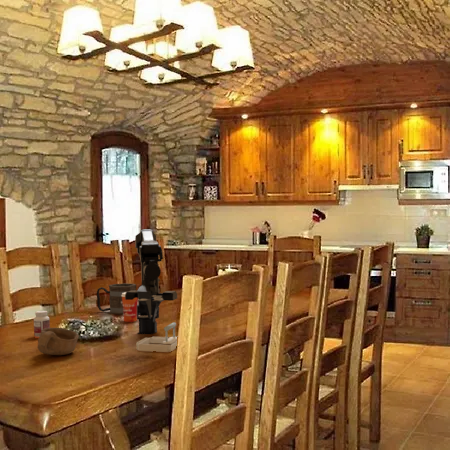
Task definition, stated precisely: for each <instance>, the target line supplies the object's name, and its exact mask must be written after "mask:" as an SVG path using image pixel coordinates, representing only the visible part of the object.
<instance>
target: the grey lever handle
mask: <svg viewBox="0 0 450 450" xmlns="http://www.w3.org/2000/svg"><path fill="white" fill-rule="evenodd" d="M176 326H177V323H176V322H172V323H169V324H168V325H166V326H165V327H163V330H164V331H165V333H164V334H165V336H164V337H166V340H165V341H164V342H163V344H162V345H171V343H173V342H175V341H176V340H177V337H178V336H176ZM169 330H172V336H168V331H169ZM168 337H170V338H169V339H168Z"/></svg>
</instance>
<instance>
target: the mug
mask: <svg viewBox="0 0 450 450" xmlns="http://www.w3.org/2000/svg"><path fill="white" fill-rule="evenodd" d="M108 287H109V290H107V289H106V288H105V287H102V286H101V287H99V288H97V291H96V302H97V308H98V310H99V311H100V312H106V311H109V313H110V314H111V315H120V316H121V315H123V303H122V296H121V295H122V293H124V292H128V291H131V290H135V291H137V284H135V283H127V282H126V283H113V284H108ZM101 290H103V291H104V292H105V293H106V294H109V300H108V302H109V307H107V308H104V309H103V308H102V307H101V297H100V291H101Z"/></svg>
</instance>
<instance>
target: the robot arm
mask: <svg viewBox="0 0 450 450" xmlns="http://www.w3.org/2000/svg"><path fill="white" fill-rule="evenodd" d="M134 237H135V238H134V239H135V240H134V245H135V249H136V253H137V254H138V256H139V258H140V271H141V272H140V273H141V285H140V286H139V287H138V289H136V291H135V290H131V291H128V292H126V294H125V300H133V299H134V298H138V305H137V320H138V332H137V335H154V334H156V333H157V332H158V322H157V320H156V319H159V318H160V305H161V303H162V302H165V301H174V300H177V299H178V292H177V291H175V290H166V291H162V292H161V290H160V287H159V285H160V283H159V282H160V281H161V280H160V278H159V277H160V276H161V272H162V271H161V267H160V266H159V264H158V263H160V262H163V261H162V260H163V259H164V255H163V248H162V246H161V245H160V244H159V242H158V241H157V235H156V234H155V233H154V229H149V228H145V229H140V231H139V233H137V234H136V235H135V236H134Z"/></svg>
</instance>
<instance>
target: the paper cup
mask: <svg viewBox="0 0 450 450" xmlns="http://www.w3.org/2000/svg"><path fill="white" fill-rule="evenodd" d="M125 294H126V292H124V293H122V295H121V296H122V303H123V314H122V315H123V322H126V323H127V322H128V323H130V322H131V323H133V322H137V305H138V300H139V299H138V298H134V299H133V300H125Z"/></svg>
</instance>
